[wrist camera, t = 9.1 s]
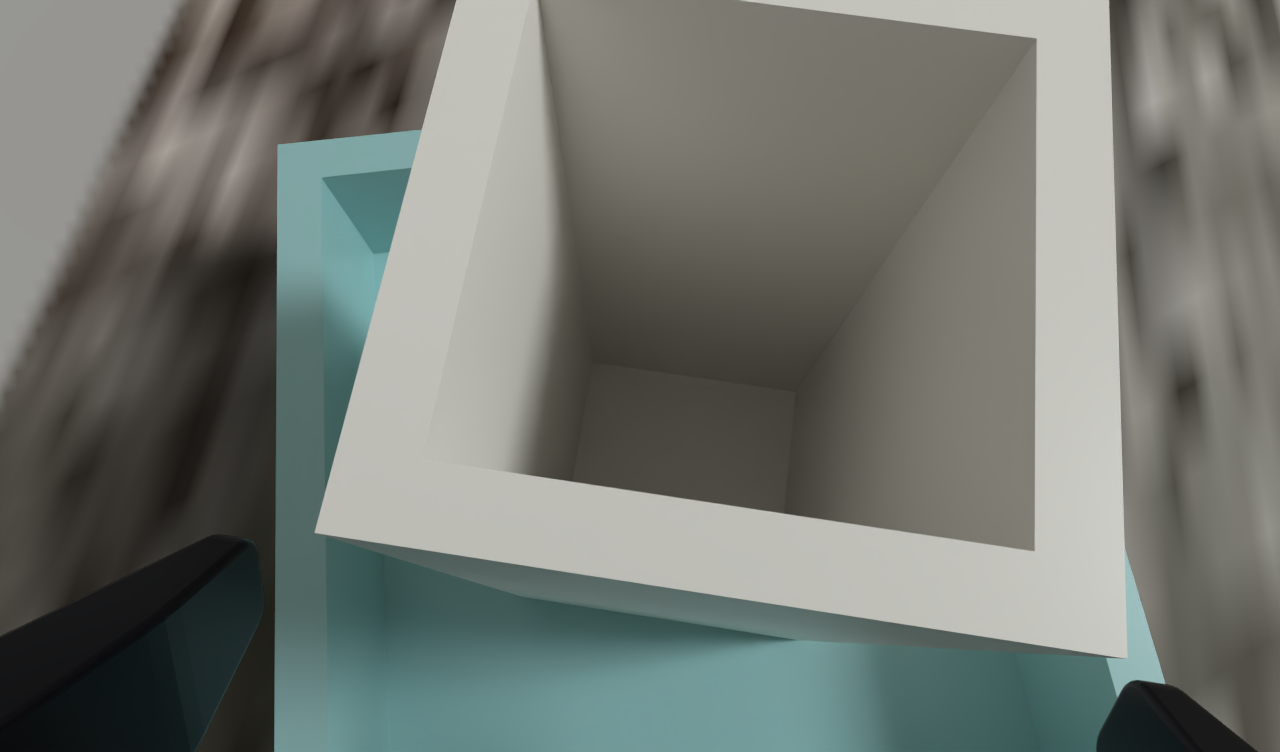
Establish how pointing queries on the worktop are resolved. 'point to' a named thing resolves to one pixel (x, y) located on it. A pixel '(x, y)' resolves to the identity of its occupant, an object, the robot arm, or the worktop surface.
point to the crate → (555, 632)
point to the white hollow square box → (759, 321)
